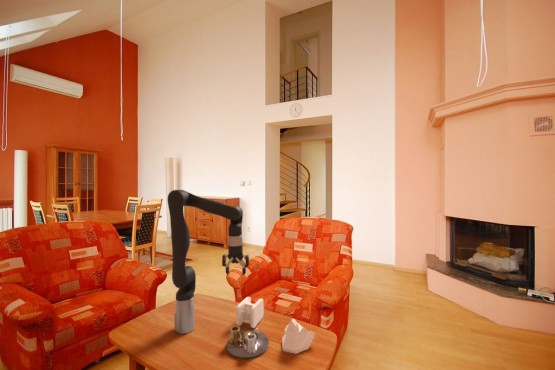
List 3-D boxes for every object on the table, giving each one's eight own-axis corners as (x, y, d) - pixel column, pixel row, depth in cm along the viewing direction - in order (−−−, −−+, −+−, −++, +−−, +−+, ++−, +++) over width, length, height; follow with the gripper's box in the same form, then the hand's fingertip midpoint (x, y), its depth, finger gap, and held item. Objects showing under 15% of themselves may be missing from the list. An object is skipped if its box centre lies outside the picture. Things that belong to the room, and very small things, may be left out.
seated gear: (229, 345, 123) (228, 333, 123) (228, 338, 129) (228, 326, 129) (242, 343, 125) (242, 331, 125) (241, 336, 131) (241, 324, 131)
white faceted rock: (306, 361, 117) (300, 334, 114) (277, 353, 124) (271, 328, 121) (315, 339, 127) (310, 314, 124) (288, 333, 134) (282, 310, 132)
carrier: (220, 356, 118) (220, 344, 118) (234, 331, 138) (234, 321, 137) (264, 360, 115) (264, 348, 115) (271, 334, 135) (271, 323, 135)
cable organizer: (252, 331, 138) (252, 309, 138) (235, 327, 141) (234, 306, 141) (264, 317, 152) (263, 297, 152) (247, 314, 155) (247, 295, 155)
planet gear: (242, 353, 118) (242, 340, 118) (246, 344, 124) (246, 332, 124) (256, 354, 117) (256, 341, 117) (259, 345, 123) (259, 333, 123)
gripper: (219, 245, 135) (220, 276, 135) (246, 245, 133) (247, 277, 133) (224, 241, 143) (225, 271, 143) (250, 242, 141) (250, 272, 141)
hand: (235, 274), depth 138 cm, fingers open, 8 cm apart
